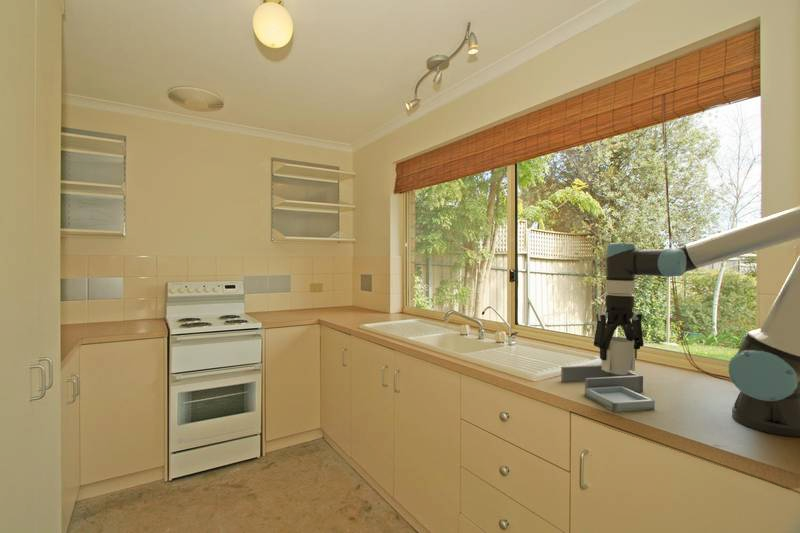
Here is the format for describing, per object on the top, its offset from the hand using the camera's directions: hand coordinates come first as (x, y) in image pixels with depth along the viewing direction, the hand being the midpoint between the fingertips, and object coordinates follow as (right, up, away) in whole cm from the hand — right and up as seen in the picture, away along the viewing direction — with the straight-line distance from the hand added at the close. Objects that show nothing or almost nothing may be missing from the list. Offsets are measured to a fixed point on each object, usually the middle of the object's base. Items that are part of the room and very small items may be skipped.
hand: (618, 370), depth 117 cm
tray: (0, -10, 0) cm, 10 cm away
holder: (+3, -9, +15) cm, 18 cm away
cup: (0, -1, 0) cm, 1 cm away
